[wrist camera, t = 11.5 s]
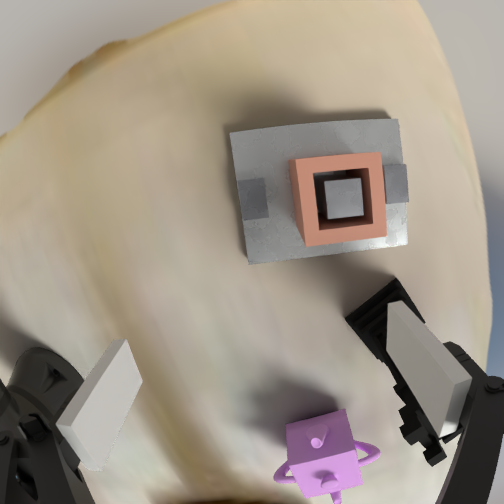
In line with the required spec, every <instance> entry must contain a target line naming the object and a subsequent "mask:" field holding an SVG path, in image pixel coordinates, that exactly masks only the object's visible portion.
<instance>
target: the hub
mask: <svg viewBox="0 0 504 504" xmlns="http://www.w3.org/2000/svg"><path fill="white" fill-rule="evenodd" d="M288 163H289V171H290V178H291V186H292V193H293V201H294V209H295V218H296V226H297V229H298V231H299V233H300V235H301V237H302V239H303V242H304V244H305V246H306V247H309V246H317V245H325V244H332V243H340V242H348V241H355V240H363V239H371V238H378V237H386V236H387V222H386V205H385V192H384V180H383V169H382V160H381V152H366V153H350V154H338V155H327V156H317V157H308V158H299V159H290V160H288ZM337 170H345V171H346V175H348V176H353V177H358V178H361V187H362V199H363V212H364V215H360V216H351V217H342V218H334V219H327V218H326V217H325V216H324V215H323V214H322V213H321V212H320V213H317V205H316V196H315V188H314V179H313V173H317V172H327V171H337Z"/></svg>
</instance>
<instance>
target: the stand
mask: <svg viewBox="0 0 504 504" xmlns="http://www.w3.org/2000/svg"><path fill="white" fill-rule="evenodd" d="M230 140H231V147H232V154H233V161H234V167H235V174H236V181H237V188H238V195H239V201H240V208H241V215H242V222H243V228H244V235H245V242H246V249H247V255H248V262H249V265H250V264H258V263H267V262H275V261H283V260H291V259H299V258H307V257H315V256H323V255H331V254H338V253H346V252H354V251H362V250H369V249H377V248H384V247H392V246H399V245H407V213H406V202H409V197H408V181H407V169H406V164H403V156H402V147H401V138H400V130H399V123H398V119H366V120H345V121H329V122H316V123H305V124H295V125H285V126H276V127H268V128H260V129H253V130H246V131H239V132H232V133H230ZM366 152H381V160H382V169H383V180H384V192H385V205H386V222H387V236H386V237H378V238H371V239H363V240H355V241H348V242H340V243H332V244H325V245H317V246H309V247H306V246H305V244H304V242H303V239H302V237H301V235H300V233H299V231H298V229H297V226H296V218H295V209H294V201H293V193H292V186H291V178H290V171H289V163H288V160H290V159H299V158H308V157H317V156H327V155H338V154H350V153H366ZM313 179H314V188H315V196H316V205H317V213H320V212H321V213H322V214H323V215H324V216H325V217H326V218H327V219H334V218H342V217H351V216H360V215H364V212H363V199H362V187H361V178H358V177H353V176H348V175H346V171H345V170H337V171H327V172H317V173H313Z"/></svg>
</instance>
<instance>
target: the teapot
mask: <svg viewBox="0 0 504 504" xmlns="http://www.w3.org/2000/svg"><path fill="white" fill-rule="evenodd" d="M286 439H287V458H288V461H286V462H285V463H284V464H283V465H282V466H280V468H279V469H278V470H277V471H276V472H275V474H274V480H275V481H276V482H278V483H296V482H297V484H298V486H299V487H300V489H301V491H302V493H303V495H304V497H305V498H309V497H314V496H319V495H323V494H328V493H330V494H331V497H332V499H333V503H334V504H341V503H342V501H341V493H340V491H341V490H344V489H348V488H351V487H355V486H358V485H362V484H363V481H362V476H361V471H360V467H361V466H364V465H366V464H369V463H371V462H373V461H374V460H376V459H377V458H378V457H379V456H380V453H381V452H380V450H379V449H378V448H377V447H376V446H374V445H371V444H368V443H364V442H359V441H354V440H353V436H352V433H351V429H350V425H349V421H348V418H347V414H346V411H345V409H342V410H338V411H335V412H332V413H328V414H324V415H321V416H317V417H313V418H309V419H306V420H301V421H297V422H293V423H289V424H286ZM356 448H357V449H360V450H363V451H365V452H366V453H368V454H369V455H368V456H367V457H365V458H362V459H360V460H358V457H357V452H356ZM289 469H290V470H291V472H292V474H293V476H285V475H286V473H287V472H288V471H289Z"/></svg>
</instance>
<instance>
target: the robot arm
mask: <svg viewBox="0 0 504 504" xmlns="http://www.w3.org/2000/svg"><path fill="white" fill-rule="evenodd" d="M386 350H387V352H388V354H389V355H390V357H391V358H392V360H393V362H394V363H395V365H396V366H397V368H398V370H399V371H400V373H401V374H402V376H403V378H404V379H405V381H406V383H407V384H408V386H409V387H410V389H411V391H412V392H413V394H414V396H415V397H416V399H417V401H418V402H419V404H420V406H421V407H422V409H423V411H424V412H425V414H426V416H427V418H428V419H429V421H430V423H431V424H432V426H433V428H434V430H435V431H436V433H437V435H438V437H439V438H440V437H443V436H445V435H448V434H450V433H453V432H455V431H456V429H457V426H458V423H459V421H460V423H461V424H462V426H463V427H464V428H463V431H462V433H461V436H460V438H459V441H458V444H457V445H458V446H457V449H456V452H455V455H454V458H453V461H452V464H451V466H450V469H449V472H448V474H447V477H446V479H445V482H444V484H443V487H442V489H441V492H440V494H439V496H438V499H437V501H436V503H435V504H487V500H488V497H489V493H490V490H491V486H492V483H493V479H494V475H495V471H496V467H497V462H498V458H499V453H500V449H501V443H502V438H503V434H504V379H502V378H500V377H496V376H487V374H486V373H485V372H484V371H483V370H482V369H481V368H480V367H479V366H478V365H477V364H476V363H475V362H474V360H473V359H471V357H470V356H469V355H468V354H466V352H465V351H464V350H463V349H462V348H461V347H460V346H459V345H457V344H455V343H453V342H451V341H450V342H447V343H443V344H442V343H441V342H440V341H439V340H438V339H437V337H436V336H435V335H434V334H433V333H432V332H431V331H430V330H429V329H428V328H427V327H426V326H425V324H424V323H423V322H422V321H421V320H420V319H419V318H418V317H417V316H416V315H415V314H414V313H413V312H412V311H411V310H410V309H409V308H408V307H407V306H406V304H405V303H404V302H403V301H397V302H393V303H388V322H387V346H386ZM142 382H143V381H142V378H141V376H140V373H139V371H138V368H137V366H136V363H135V361H134V358H133V355H132V353H131V350H130V347H129V344H128V342H127V339H116V340H113V342H112V343H111V344H110V346H109V347H108V349H107V350H106V351H105V353H104V354H103V355H102V357H101V358H100V360H99V361H98V362H97V364H96V365H95V367H94V368H93V370H92V371H91V372H90V374H89V375H88V377H87V378H86V380H85V381H84V380H83V379H82V377H81V376H80V375H79V374H78V372H77V371H76V370H75V369H74V368H73V367H72V366H71V365H70V364H69V363H67V362H66V361H65V360H64V359H62V358H61V357H60V356H58V355H56V354H55V353H53V352H51V351H48V350H46V349H42V348H31V349H29V350H27V351H26V352H25V353H24V354H23V355H22V356H21V357H20V358H19V359H18V361H17V363H16V366H15V368H14V370H13V373H12V375H11V378H10V380H9V383H8V385H7V386H6V387H5V385H4V384H3V382H2V381H1V379H0V504H95V502H94V500H93V498H92V496H91V493H90V491H89V489H88V487H87V484H86V482H85V480H84V477H83V475H82V472H81V471H80V469H79V468H78V465H79V463H80V461H81V462H82V463H83V465H84V466H85V467H86V469H87V470H93V471H99V472H102V470H103V468H104V466H105V463H106V461H107V459H108V456H109V454H110V452H111V450H112V447H113V445H114V443H115V441H116V438H117V436H118V434H119V432H120V429H121V427H122V425H123V423H124V420H125V418H126V416H127V414H128V412H129V409H130V407H131V405H132V403H133V401H134V399H135V397H136V394H137V392H138V390H139V388H140V386H141V384H142Z"/></svg>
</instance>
